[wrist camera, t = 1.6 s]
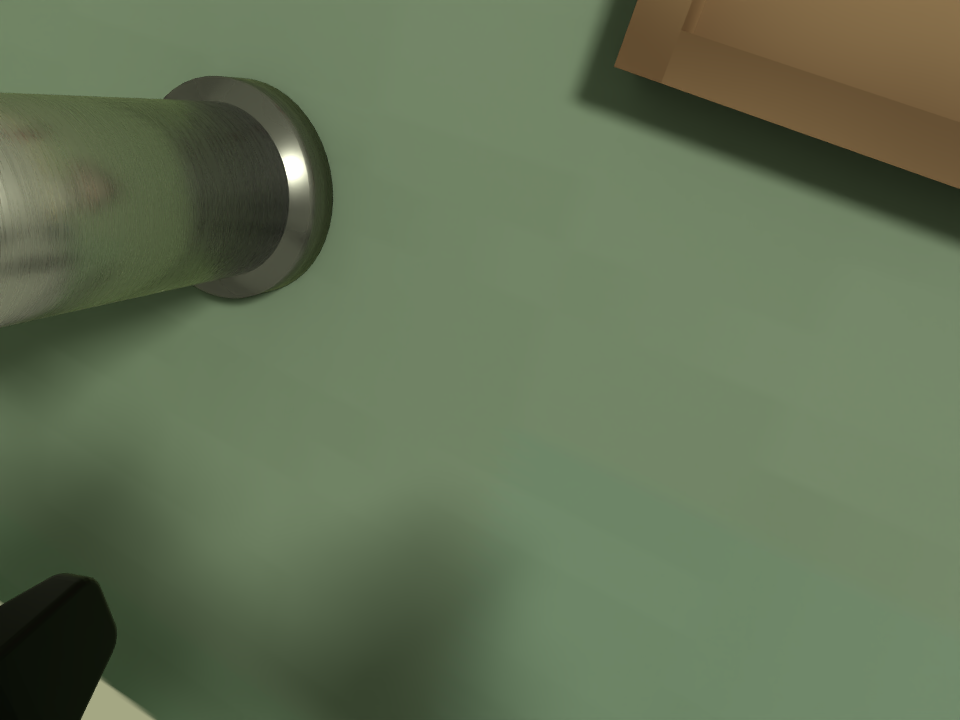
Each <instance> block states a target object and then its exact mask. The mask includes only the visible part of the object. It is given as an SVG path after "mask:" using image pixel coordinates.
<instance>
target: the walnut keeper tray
mask: <svg viewBox="0 0 960 720" xmlns="http://www.w3.org/2000/svg"><path fill="white" fill-rule="evenodd" d="M614 67H616V68H619V69H622V70H625V71H628V72H631V73H633V74H636V75H639V76H642V77H645V78H647V79H650V80H653V81H656V82H659V83H662V84H664V85H667V86H670V87H673V88H676V89H679V90H681V91H684V92H687V93H690V94H693V95H696V96H698V97H701V98H704V99H707V100H710V101H713V102H715V103H718V104H721V105H724V106H727V107H730V108H732V109H735V110H738V111H741V112H744V113H746V114H749V115H752V116H755V117H758V118H761V119H763V120H766V121H769V122H772V123H775V124H778V125H780V126H783V127H786V128H789V129H792V130H795V131H797V132H800V133H803V134H806V135H809V136H812V137H814V138H817V139H820V140H823V141H826V142H828V143H831V144H834V145H837V146H840V147H843V148H845V149H848V150H851V151H854V152H857V153H860V154H862V155H865V156H868V157H871V158H874V159H877V160H879V161H882V162H885V163H888V164H891V165H894V166H896V167H899V168H902V169H905V170H908V171H911V172H913V173H916V174H919V175H922V176H925V177H927V178H930V179H933V180H936V181H939V182H942V183H944V184H947V185H950V186H953V187H956V188H959V189H960V0H637V3H636V6H635V9H634V12H633V14H632V17H631V20H630V23H629V26H628V28H627V31H626V34H625V37H624V40H623V43H622V45H621V48H620V51H619V54H618V57H617V59H616V62H615V65H614Z"/></svg>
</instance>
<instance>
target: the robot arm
mask: <svg viewBox="0 0 960 720" xmlns="http://www.w3.org/2000/svg"><path fill="white" fill-rule="evenodd" d="M116 639H117V628H116V624H115V622H114V619H113V617H112V614H111V612H110V609H109V607H108V604H107V602H106V599H105V597H104V594H103V592H102V589H101V587H100V585H99V583H98V582H97V581H96V580H95V579H93V578H91V577H87V576H81V575H75V574H69V573H62V574H57V575H54V576H52V577H50V578H48V579H46V580H45V581H43V582H41V583H39V584H38V585H36V586H34V587H32V588H31V589H29V590H27V591H25V592H23V593H22V594H20V595H18V596H16V597H15V598H13V599H11V600H9V601H8V602H6V603H4V604H2V605H1V606H0V720H81V718H82V716H83V713H84V711H85V709H86V707H87V705H88V703H89V701H90V699H91V697H92V695H93V692H94V690H95V688H96V686H97V684H98V682H99V680H100V678H101V676H102V674H103V671H104V669H105V667H106V665H107V663H108V661H109V659H110V657H111V655H112V653H113V650H114V647H115V644H116Z"/></svg>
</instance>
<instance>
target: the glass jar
mask: <svg viewBox="0 0 960 720" xmlns="http://www.w3.org/2000/svg"><path fill="white" fill-rule="evenodd" d="M332 206H333V187H332V178H331V171H330V167H329V163H328V159H327V155H326V153H325V150H324V147H323V145H322V142H321V140H320V138H319V136H318V134H317V132H316V130H315V128H314V126H313V125H312V123H311V122H310V120H309V119H308V117H307V116H306V115H305V114H304V112H303V111H302V110H301V109H300V108H299V106H298V105H297V104H296V103H294V102H293V101H292V100H291V99H290V98H289V97H288V96H287V95H285V94H284V93H282V92H281V91H279V90H278V89H276V88H274V87H272V86H270V85H268V84H266V83H263V82H260V81H257V80H252V79H246V78H235V77H222V76H205V77H200V78H195V79H192V80H190V81H187V82H185V83H183V84H181V85H180V86H178V87H176V88H175V89H173V90H172V91H171V92H170V93H169V94H168V95H166V96H165V97H164V99H146V98H121V97H97V96H72V95H47V94H22V93H0V328H1V327H5V326H10V325H14V324H19V323H23V322H28V321H33V320H37V319H42V318H46V317H51V316H55V315H60V314H64V313H69V312H73V311H78V310H82V309H87V308H91V307H96V306H101V305H105V304H110V303H114V302H119V301H123V300H128V299H132V298H137V297H141V296H146V295H150V294H155V293H160V292H164V291H169V290H173V289H178V288H182V287H187V286H191V285H193V286H195V287H197V288H198V289H200V290H202V291H204V292H207V293H209V294H212V295H215V296H219V297H224V298H244V297H249V296H253V295H257V294H261V293H265V292H269V291H273V290H277V289H279V288H282V287H284V286H287V285H289V284H290V283H292V282H293V281H295V280H297V279H298V278H299V277H300V276H301V275H303V274H304V273H305V272H306V271H307V270H308V268H309V267H310V266H311V265H312V264H313V262H314V261H315V259H316V258H317V256H318V255H319V253H320V251H321V249H322V247H323V244H324V242H325V240H326V237H327V233H328V230H329V227H330V221H331V216H332Z"/></svg>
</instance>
